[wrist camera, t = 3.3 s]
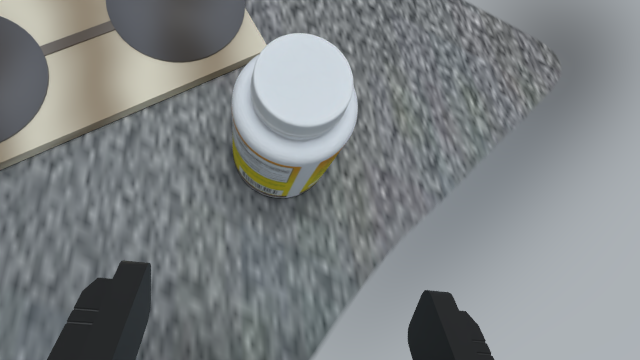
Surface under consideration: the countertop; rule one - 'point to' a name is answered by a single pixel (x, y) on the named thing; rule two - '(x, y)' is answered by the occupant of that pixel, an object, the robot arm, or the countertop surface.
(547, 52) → the countertop surface
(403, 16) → the countertop surface
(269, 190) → the supplement bottle
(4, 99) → the peg stand
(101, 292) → the robot arm
